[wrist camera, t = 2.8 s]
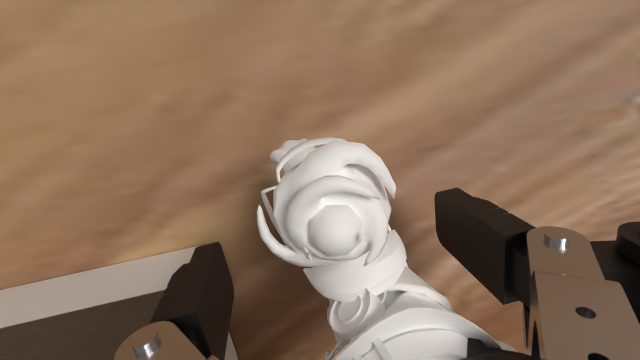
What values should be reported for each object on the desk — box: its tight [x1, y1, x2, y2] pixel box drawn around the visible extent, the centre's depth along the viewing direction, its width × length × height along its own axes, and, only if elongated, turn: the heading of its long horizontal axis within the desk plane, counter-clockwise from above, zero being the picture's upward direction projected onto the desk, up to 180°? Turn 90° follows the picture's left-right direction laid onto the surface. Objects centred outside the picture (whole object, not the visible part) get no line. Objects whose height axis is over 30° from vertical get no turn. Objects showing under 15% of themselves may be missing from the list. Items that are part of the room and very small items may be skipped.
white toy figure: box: [257, 137, 503, 360], centre depth 9 cm, size 9×4×12 cm, turn 22°
